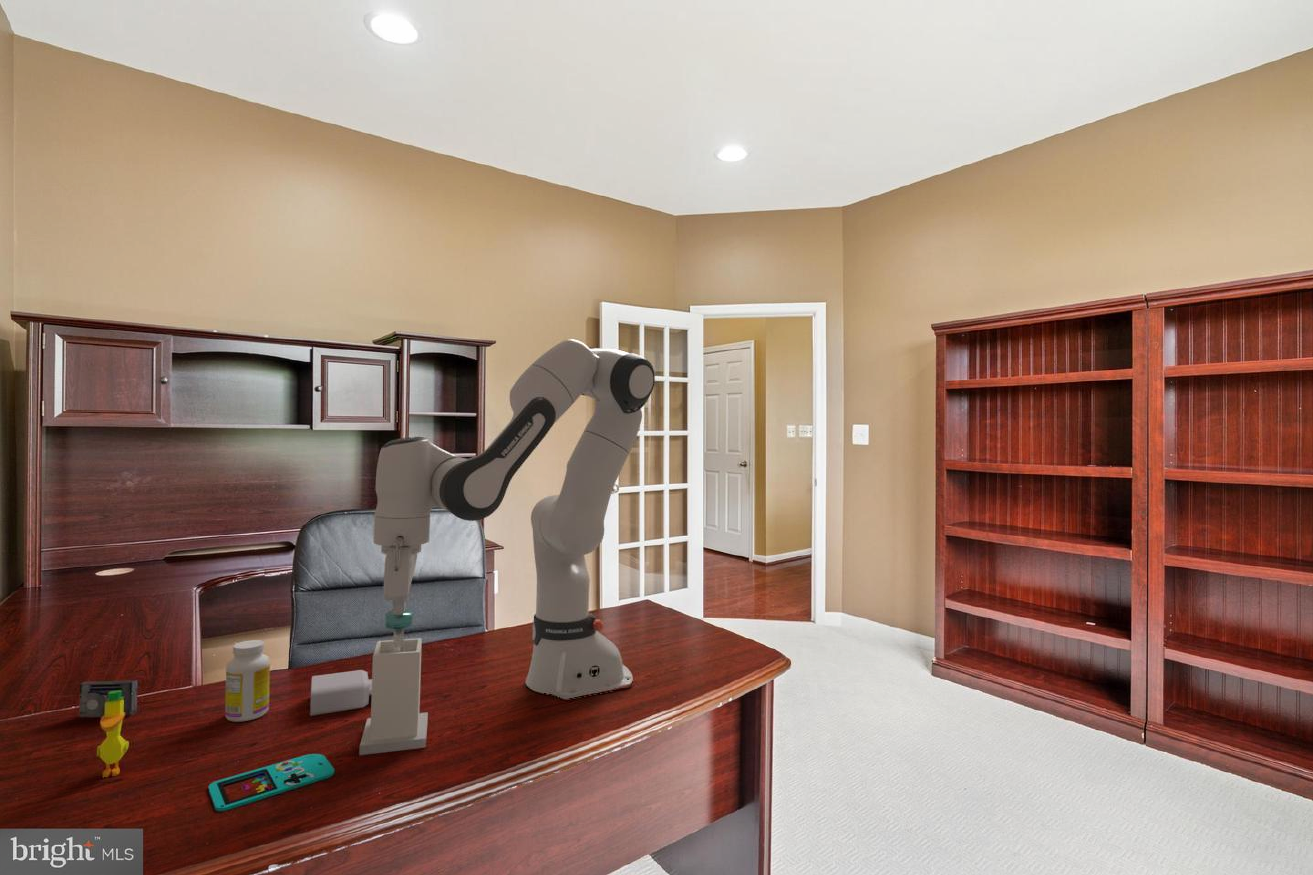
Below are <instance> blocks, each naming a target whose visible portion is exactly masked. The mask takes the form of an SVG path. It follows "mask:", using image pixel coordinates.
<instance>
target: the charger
mask: <svg viewBox="0 0 1313 875" xmlns="http://www.w3.org/2000/svg"><path fill="white" fill-rule="evenodd" d="M368 675H369V673H368V671H366V670H363V669H356V670H351V671H343V672H335V673H327V674H319V675H313V676H311V687H310V711H309V712H310V713H309V714H310V715H309V716H310V717H312V716H320V715H324V714H332V713H338V712H344V711H350V710H357V709H364V708H365V707H366V706H368V705H369V701H370V696H372V678H371V679H369V676H368Z"/></svg>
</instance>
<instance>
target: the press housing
mask: <svg viewBox="0 0 1313 875" xmlns="http://www.w3.org/2000/svg"><path fill="white" fill-rule="evenodd" d="M422 640H423V638H419V637H418V638H404V644H403V652H396V653H393V641H394V639H391V640H390V639H389V640H388V639H387V640H377V642H376V645H375V649H374V651H373V653H372V654H373V655H372V667H371V668H372V670H371V671H372V674H371V679H372V695H371V701H370V704H371V708H370V717H368V718H367V719H366V722H365V726H364V729H363V733H362V736H361V741H360V744H359V754H358V755H359V756H364V755H371V754H372V755H375V754H381V753H388V752H389V753H391V752H397V751H399V752H400V751H407V750H416V749H423V748H424V749H425V748H426V747H427V746H426V745H427V732H428V721H429V719H428V717H429V712H428V711H427V712H420V705H421V675H422V674H421V672H422V648H423V647H422V642H423V641H422Z"/></svg>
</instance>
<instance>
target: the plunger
mask: <svg viewBox="0 0 1313 875" xmlns="http://www.w3.org/2000/svg"><path fill="white" fill-rule="evenodd" d="M384 621H385V622H384V627H385V628H386V629H390V630H391V629H392V630H393V640H394V641H393V653H396V652H403V644H404V639H405V636H404V635H405V634H404V633H405V629H406V628H410V627H412V626H413V625H414V611H413V610H411V609H405V611H404V614H403V615H396V616H395V615H393V610H389V611H387V612H385V616H384Z"/></svg>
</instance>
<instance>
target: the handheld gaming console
mask: <svg viewBox="0 0 1313 875" xmlns="http://www.w3.org/2000/svg"><path fill="white" fill-rule="evenodd" d="M261 774H263V775H261ZM334 774H335V768H334V767H333V765H332V764H331V763H330V761H329V760H328V759H327V757H326V756H325V755H323V754H322V753H321V754H320V753H311V754H310V753H309V754H304V755H301V756H298V757H294V758H290V759H287V760H283V761H281V762H277V763H273V764H270V765H267V766H266V765H265V766H263V767H260V768H256V769H254V770H250V771H246V772H243V773H238V774H236V775H233V776H229V777H226V778H222V779H219V780H216V781H212V783H209V785H208V789H209V790H208V794H209V796H210V798H211V801H212V803H213V806H214V809H215V811H218V812H226V811H229V810H233V809H236V808H238V807H241V806H244V805H248V804H252V803H254V802H257V801H260V800H263V799H266V798H269V797H272V796H276V795H278V794H282V793H285V792H289V791H291V790H294V789H295V790H296V789H297V788H301V787H304V786H307V785H310V784H313V783H316V782H319V781H323V780H325V779H329V778H331V777H333V776H334ZM255 776H256V777H255ZM252 777H254V780H253V781H251V782H252V784H255V783H259V782H260V784H261V785H258V787H257V788H255V791H256V793H252V794H249V795H246V796H242V797H240V798H238V799H234V800H230V799H229V796H228V794H227V792H226V789H225V787H224V785H228V784H231V783H234V782H235V783H236V782H238V781H241V780H245V779H248V778H252ZM244 786H245V787H246V786H247V787H246V788H244V787H242V786H241V787H242V788H241V789H245V790H246V791H247V790H250V787H249V784H245V785H244Z"/></svg>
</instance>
